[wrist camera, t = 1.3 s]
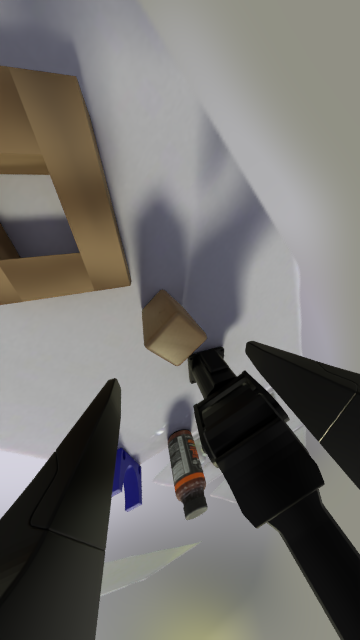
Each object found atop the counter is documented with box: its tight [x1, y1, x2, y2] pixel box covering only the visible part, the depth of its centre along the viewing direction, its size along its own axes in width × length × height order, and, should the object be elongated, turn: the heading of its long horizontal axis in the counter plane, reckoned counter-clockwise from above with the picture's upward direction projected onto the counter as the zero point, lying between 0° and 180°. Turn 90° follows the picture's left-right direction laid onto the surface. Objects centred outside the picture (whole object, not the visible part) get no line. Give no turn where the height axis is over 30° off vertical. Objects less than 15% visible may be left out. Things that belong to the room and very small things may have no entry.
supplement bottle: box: [168, 430, 207, 520], centre depth 28 cm, size 6×6×11 cm
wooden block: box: [142, 289, 207, 366], centre depth 14 cm, size 4×4×8 cm
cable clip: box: [112, 448, 142, 512], centre depth 28 cm, size 12×4×6 cm, turn 12°
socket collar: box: [0, 66, 131, 305], centre depth 10 cm, size 12×12×2 cm
